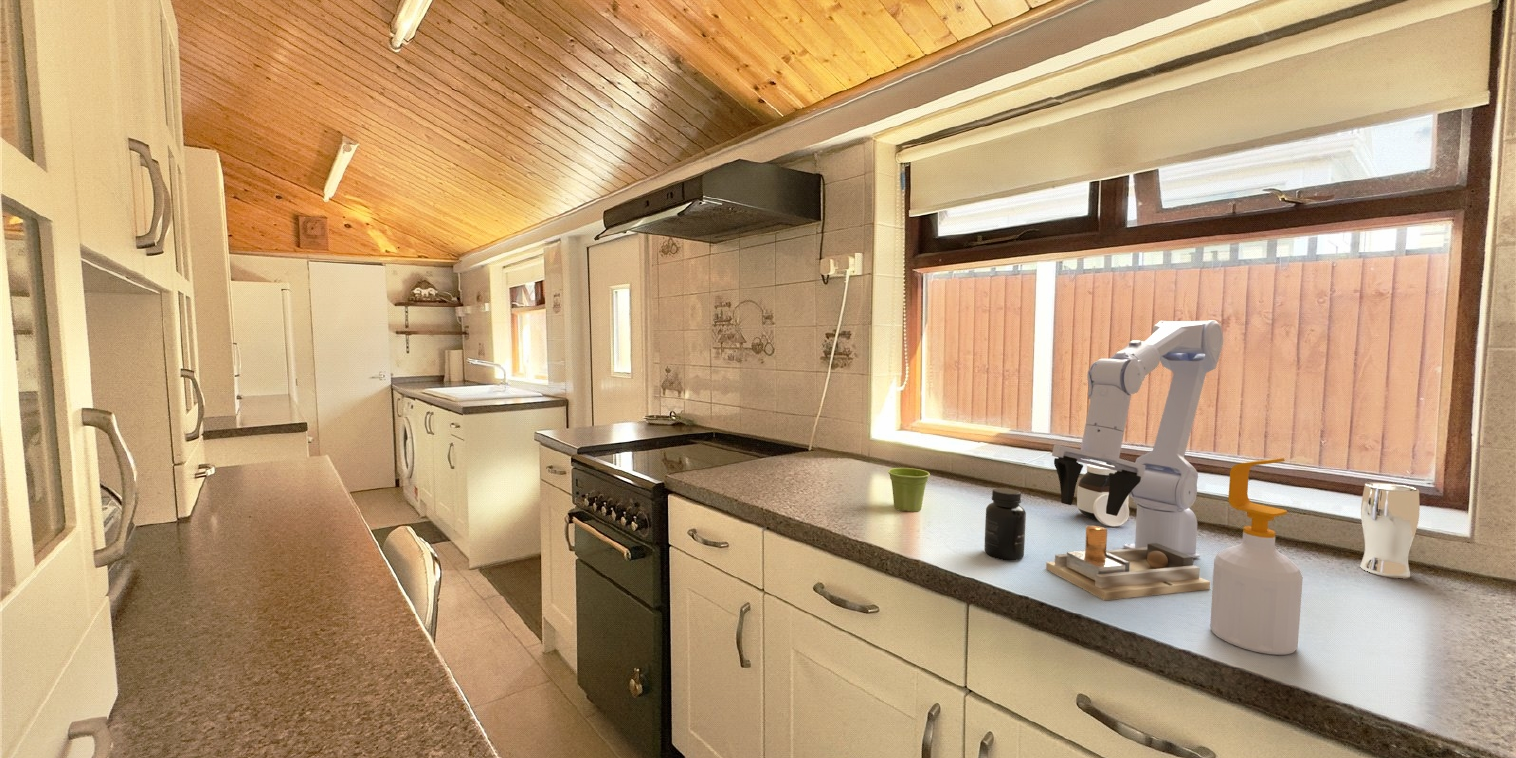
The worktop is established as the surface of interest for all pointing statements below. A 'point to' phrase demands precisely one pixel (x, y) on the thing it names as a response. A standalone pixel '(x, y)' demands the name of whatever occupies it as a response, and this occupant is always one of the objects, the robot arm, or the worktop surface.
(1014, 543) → the supplement bottle
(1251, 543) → the soap bottle
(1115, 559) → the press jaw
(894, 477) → the plant pot
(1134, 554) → the base
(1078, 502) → the spread jar
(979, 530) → the worktop surface
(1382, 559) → the beer glass
